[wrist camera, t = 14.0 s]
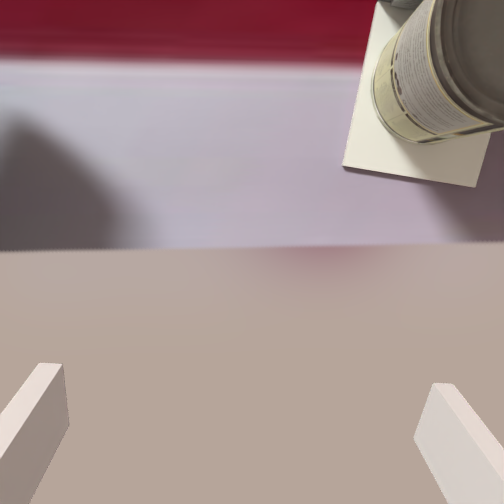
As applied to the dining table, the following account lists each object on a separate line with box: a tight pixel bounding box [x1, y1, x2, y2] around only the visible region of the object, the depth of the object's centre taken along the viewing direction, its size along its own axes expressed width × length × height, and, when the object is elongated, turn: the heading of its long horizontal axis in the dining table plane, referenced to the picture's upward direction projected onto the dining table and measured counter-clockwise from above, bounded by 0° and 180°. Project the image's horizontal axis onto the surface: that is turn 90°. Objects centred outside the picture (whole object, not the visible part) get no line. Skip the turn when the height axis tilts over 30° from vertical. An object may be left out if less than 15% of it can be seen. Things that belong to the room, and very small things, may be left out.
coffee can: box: [370, 0, 504, 145], centre depth 25 cm, size 10×10×14 cm
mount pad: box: [342, 1, 492, 188], centre depth 32 cm, size 12×14×1 cm
